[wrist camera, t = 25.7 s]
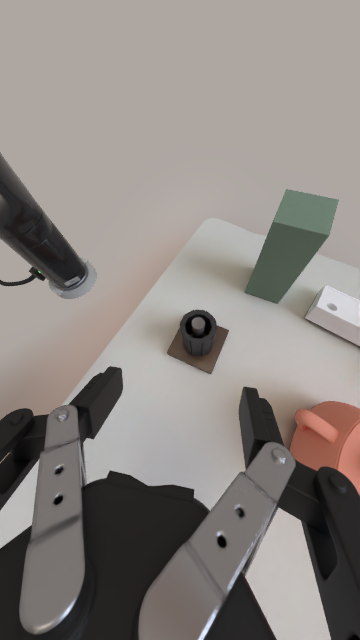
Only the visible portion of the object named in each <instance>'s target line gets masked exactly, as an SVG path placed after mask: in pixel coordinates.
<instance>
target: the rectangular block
mask: <svg viewBox="0 0 360 640" xmlns="http://www.w3.org/2000/svg"><path fill="white" fill-rule="evenodd" d="M338 201H339V200H337V199H332V198H327V197H322V196H317V195H312V194H308V193H303V192H298V191H293V190H288V189H287V190H286V191H285V194H284V196H283V199H282V201H281V203H280V206H279V208H278V211H277V213H276V215H275V218H274V220H273V223H272V225H271V228H270V230H269V233H268V235H267V238H266V240H265V243H264V245H263V248H262V250H261V253H260V255H259V258H258V260H257V263H256V265H255V268H254V270H253V273H252V276H251V278H250V281H249V283H248V286H247V288H246V291H245V293H248V294H251V295H254V296H257V297H260V298H263V299H265V300H268V301H271V302H274V303H277V304H278V303H279V301H280V300H281V299H282V297H283V296H284V295H285V293H286V292H287V291H288V289H289V288H290V287H291V285H292V284H293V283H294V282H295V280H296V279H297V278H298V276H299V275H300V274H301V272H302V271H303V270H304V268H305V267H306V266H307V264H308V263H309V262H310V260H311V259H312V258H313V256H314V255H315V254H316V252H317V251H318V249H319V248H320V247H321V246H322V244H323V243H324V242H325V240H326V239H327V238H328V236H329V234H330V230H331V227H332V223H333V219H334V215H335V212H336V208H337V205H338Z"/></svg>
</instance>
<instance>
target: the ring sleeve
mask: <svg viewBox="0 0 360 640" xmlns="http://www.w3.org/2000/svg"><path fill="white" fill-rule="evenodd" d="M196 317H200V318H202V319H203V320H204V321H205V329H204V334H205V335H207V336H205V337H204V338H202V339H199V338H192V337H191V336H190V335H191V334H192V320H193V319H194V318H196ZM180 329H181V334H182V339H183V343H184V348H185V350H186V351H188V352H189V353H190V354H191V355H193V356H201V355H202V356H204V355H205V354H207V353H209V352H210V351H211V349H212V346H213V344H214V340H215V336H216V331H217V325H216V321H215V318H214V317H213V316H212V315H211V314H209V313H208V312H207V311H206V312H205V311H204V310H195V311H194V310H193V311H191V312H189V313H187V314H185V315H184V317H183V319H182V321H181V323H180Z"/></svg>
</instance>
